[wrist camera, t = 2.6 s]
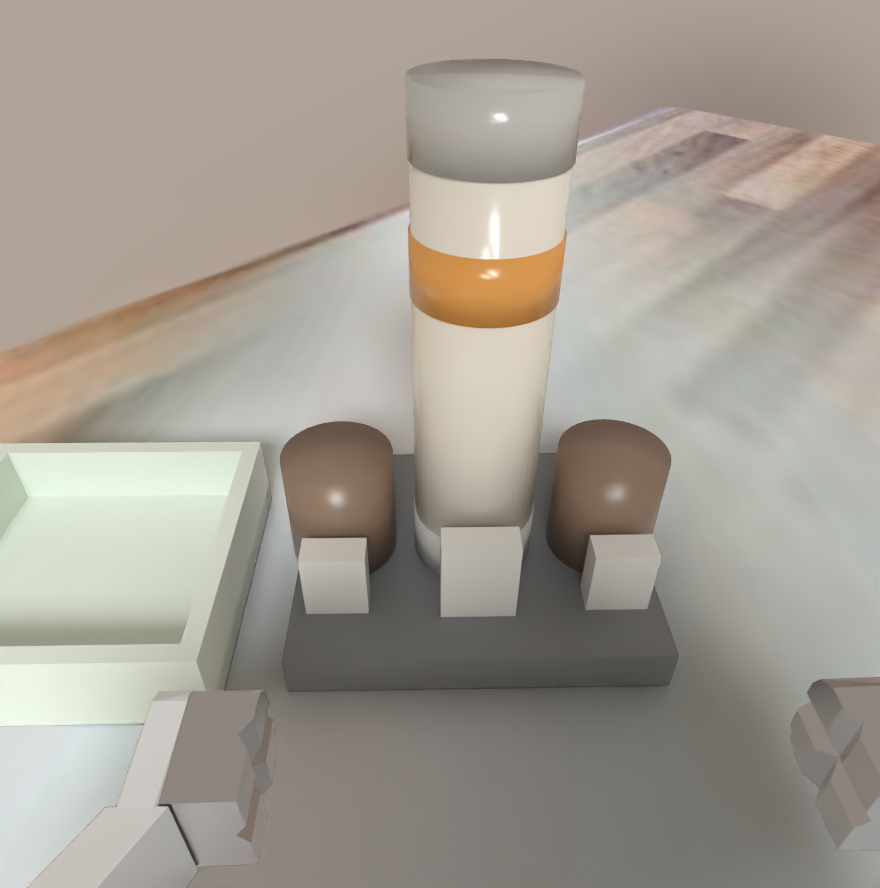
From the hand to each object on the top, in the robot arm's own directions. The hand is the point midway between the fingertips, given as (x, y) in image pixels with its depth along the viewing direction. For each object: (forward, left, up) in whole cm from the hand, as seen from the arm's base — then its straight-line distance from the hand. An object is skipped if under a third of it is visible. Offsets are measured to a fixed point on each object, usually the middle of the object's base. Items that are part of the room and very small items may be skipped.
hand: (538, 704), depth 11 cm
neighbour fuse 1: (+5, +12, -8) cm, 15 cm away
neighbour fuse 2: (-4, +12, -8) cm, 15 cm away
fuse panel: (0, +12, -10) cm, 16 cm away
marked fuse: (0, +12, -8) cm, 15 cm away
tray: (-13, +11, -10) cm, 20 cm away
